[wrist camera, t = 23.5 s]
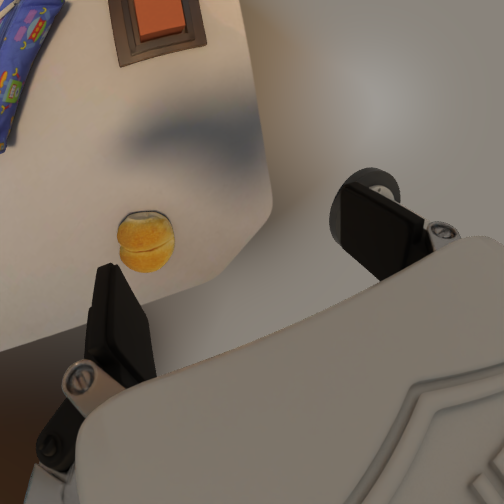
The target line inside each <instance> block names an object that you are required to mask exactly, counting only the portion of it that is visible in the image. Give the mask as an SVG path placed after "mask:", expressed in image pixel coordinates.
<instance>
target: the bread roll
mask: <svg viewBox="0 0 504 504" xmlns="http://www.w3.org/2000/svg"><path fill="white" fill-rule="evenodd" d="M117 239H118V242H119V243H120V245H121V247H120V258H121V260H122V261H123V263H124V264H125V265H126V266H127V267H129V268H130V269H132V270H134V271H137V272H142V273H149V272H154V271H156V270H158V269H160V268H161V267H163V266H164V265H165V264H166V262H167V261H168V260H169V258H170V256H171V255H172V253H173V250H174V244H175V239H174V233H173V228H172V226H171V224H170V222H169V221H168V219H167V218H166V217H164V216H163V215H161V214H158V213H156V212H141V213H134V214H131V215H129V216H128V217H127V218H126V219H125V220H124V221H123V222H122V224H121V225H120V226H119V229H118V233H117Z"/></svg>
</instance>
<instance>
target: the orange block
mask: <svg viewBox="0 0 504 504" xmlns="http://www.w3.org/2000/svg"><path fill="white" fill-rule="evenodd" d="M134 8H135V14H136V20H137V26H138V31H139V36H140V41H141V43H143V42H147V41H150V40H154V39H158V38H162V37H166V36H170V35H175V34H180V33H181V32H182V30H183V29H184V27H185V20H184V14H183V9H182V4H181V0H134Z"/></svg>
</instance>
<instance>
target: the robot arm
mask: <svg viewBox="0 0 504 504" xmlns="http://www.w3.org/2000/svg"><path fill="white" fill-rule="evenodd" d="M340 243H341V246H342V248H343V249H344V250H345V251H346V252H347V253H349V254H350V255H351V256H352V257H353V258H354V259H355V260H357V261H358V262H359V263H360V264H361V265H363V266H364V267H365V268H366V269H367V270H368V271H369V272H370V273H372V274H373V275H374V276H375V277H376V278H377V279H378V280H379V281H380V282H379V283H377V284H375V285H373V286H371V287H369V288H367V289H365V290H363V291H361V292H359V293H358V294H356V295H354V296H352V297H350V298H348V299H345V300H344V301H341V302H339V303H337V304H335V305H333V306H331V307H329V308H327V309H325V310H323V311H321V312H319V313H316V314H314V315H312V316H310V317H308V318H305V319H303V320H301V321H299V322H297V323H295V324H292V325H290V326H288V327H285V328H284V329H281V330H279V331H276V332H274V333H272V334H269V335H267V336H264V337H262V338H260V339H257V340H255V341H252V342H250V343H247V344H245V345H242V346H240V347H237V348H235V349H232V350H229V351H227V352H224V353H222V354H219V355H216V356H214V357H211V358H208V359H206V360H203V361H200V362H198V363H195V364H192V365H189V366H186V367H184V368H181V369H178V370H175V371H173V372H170V373H167V374H164V375H161V376H158V377H157V376H156V370H155V364H154V358H153V351H152V345H151V338H150V330H149V323H148V319H147V317H146V314H145V313H144V311H143V309H142V308H141V306H140V304H139V302H138V301H137V299H136V297H135V295H134V293H133V292H132V290H131V288H130V286H129V284H128V282H127V281H126V279H125V277H124V275H123V273H122V271H121V269H120V267H119V266H118V265H113V264H112V263H109V264H106V265H103V266H101V267H98V269H97V273H96V279H95V285H94V292H93V299H92V307H90V308H89V312H88V320H87V330H86V340H85V354H84V360H79V361H77V362H75V363H74V364H72V365H71V366H70V367H69V369H68V370H67V371H66V373H65V375H64V377H63V381H62V388H63V392H64V393H65V395H66V397H67V398H66V399H65V400H64V402H63V403H62V404H61V406H60V407H59V408H58V410H57V411H56V412H55V414H54V415H53V416H52V418H51V419H50V420H49V422H48V423H47V425H46V426H45V427H44V429H43V430H42V432H41V433H40V435H39V437H38V439H37V443H36V453H37V457H38V458H39V460H40V463H39V465H38V464H35V465H34V469H33V472H32V475H31V479H30V482H29V485H28V489H27V493H26V497H25V501H24V504H504V246H503V245H502V244H501V243H499V242H497V241H496V240H494V239H492V238H490V237H486V236H473V237H466V238H463V239H461V237H460V235H459V232H458V231H457V229H456V228H454V227H453V226H451V225H450V224H447V223H444V222H439V221H437V222H436V221H435V222H430V221H428V220H427V219H425V218H424V217H422V216H420V215H419V214H417V213H415V212H414V211H412V210H410V209H408V208H407V207H405V206H403V205H401V204H400V203H398V202H396V201H395V200H394V196H393V194H392V192H391V191H390V190H389V189H388V188H386V187H384V186H382V185H374V186H371V187H369V188H368V187H366V186H364V185H362V184H360V183H358V182H352V183H348V184H345V185H344V186H343V188H342V189H341V191H340Z"/></svg>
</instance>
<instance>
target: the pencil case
mask: <svg viewBox="0 0 504 504" xmlns="http://www.w3.org/2000/svg"><path fill="white" fill-rule="evenodd" d="M64 3H65V0H4V1H3V3H2V5H1V7H0V154H1V153H4V152H5V150H6V147H7V137H8V135H9V133H10V130H11V126H12V122H13V119H14V115H15V112H16V108H17V105H18V102H19V98H20V94H21V91H22V88H23V86H24V83H25V80H26V78H27V75H28V73H29V71H30V68H31V66H32V63H33V61H34V59H35V57H36V55H37V53H38V51H39V49H40V47H41V45H42V43H43V41H44V39H45V37H46V35H47V33H48V31H49V29H50V27H51V25H52V23H53V21H54V18H55V16H56V15H57V14H58V13H59V11H60V9H61V7H62V5H63V4H64Z"/></svg>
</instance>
